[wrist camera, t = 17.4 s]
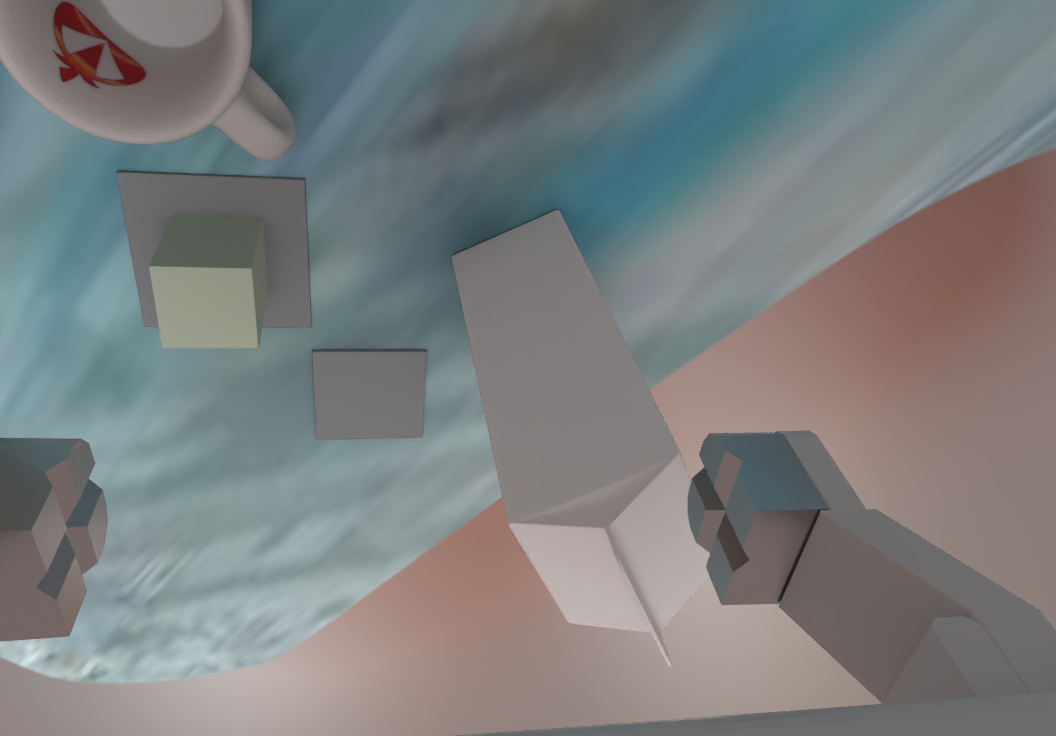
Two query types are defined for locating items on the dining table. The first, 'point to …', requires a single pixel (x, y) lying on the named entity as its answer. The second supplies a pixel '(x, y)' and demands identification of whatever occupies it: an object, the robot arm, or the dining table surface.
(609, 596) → the milk
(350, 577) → the dining table surface
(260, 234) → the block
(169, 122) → the cup
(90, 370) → the dining table surface
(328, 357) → the grey square coaster
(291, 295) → the thin grey square tile
